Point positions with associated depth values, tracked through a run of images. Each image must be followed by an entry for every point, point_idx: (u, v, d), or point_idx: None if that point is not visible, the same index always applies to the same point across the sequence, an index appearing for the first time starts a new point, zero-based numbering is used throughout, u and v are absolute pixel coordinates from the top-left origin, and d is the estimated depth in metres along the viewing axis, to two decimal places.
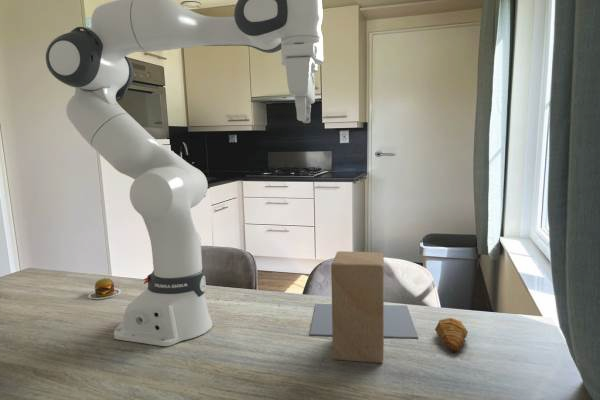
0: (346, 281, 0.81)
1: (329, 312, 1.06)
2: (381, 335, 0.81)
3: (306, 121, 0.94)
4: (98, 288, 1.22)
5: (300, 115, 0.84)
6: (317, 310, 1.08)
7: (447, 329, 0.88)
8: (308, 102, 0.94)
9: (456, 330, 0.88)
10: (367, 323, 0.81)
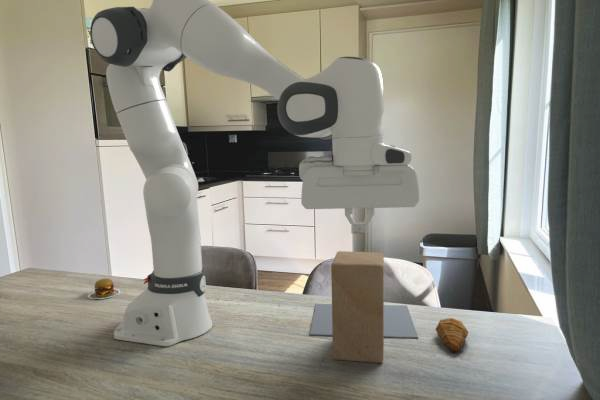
0: (346, 281, 0.81)
1: (329, 312, 1.06)
2: (381, 335, 0.81)
3: None
4: (98, 288, 1.22)
5: (367, 227, 0.73)
6: (317, 310, 1.08)
7: (448, 329, 0.88)
8: None
9: (456, 330, 0.88)
10: (367, 323, 0.81)
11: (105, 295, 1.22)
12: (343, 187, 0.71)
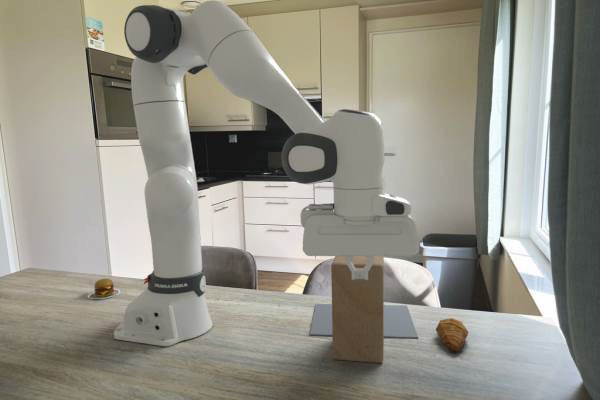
0: (346, 281, 0.81)
1: (329, 312, 1.06)
2: (381, 335, 0.81)
3: None
4: (97, 288, 1.22)
5: (367, 274, 0.74)
6: (317, 310, 1.08)
7: (448, 330, 0.88)
8: None
9: (457, 330, 0.88)
10: (367, 323, 0.81)
11: (105, 295, 1.22)
12: (344, 235, 0.72)
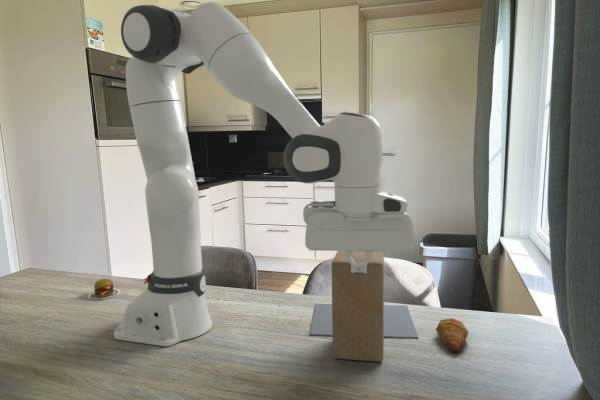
0: (346, 279, 0.81)
1: (329, 312, 1.06)
2: (381, 333, 0.81)
3: None
4: (97, 288, 1.22)
5: (366, 267, 0.79)
6: (317, 310, 1.08)
7: (448, 330, 0.88)
8: None
9: (457, 330, 0.88)
10: (367, 322, 0.81)
11: (105, 295, 1.22)
12: (344, 231, 0.77)
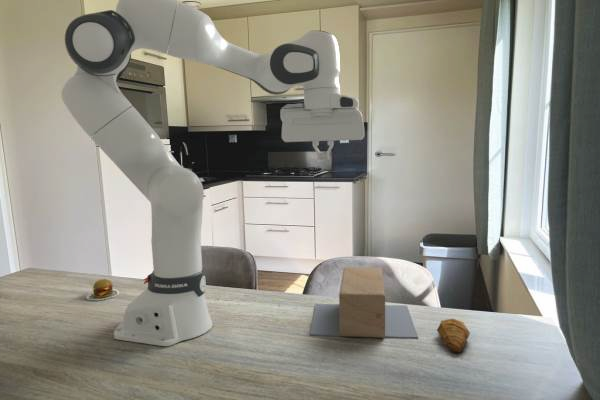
0: (354, 271, 1.07)
1: (329, 312, 1.06)
2: (382, 285, 0.96)
3: None
4: (96, 289, 1.21)
5: None
6: (317, 310, 1.08)
7: (449, 330, 0.88)
8: (318, 141, 1.03)
9: (458, 330, 0.88)
10: (370, 282, 0.98)
11: (103, 296, 1.22)
12: (311, 125, 1.00)
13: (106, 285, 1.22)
